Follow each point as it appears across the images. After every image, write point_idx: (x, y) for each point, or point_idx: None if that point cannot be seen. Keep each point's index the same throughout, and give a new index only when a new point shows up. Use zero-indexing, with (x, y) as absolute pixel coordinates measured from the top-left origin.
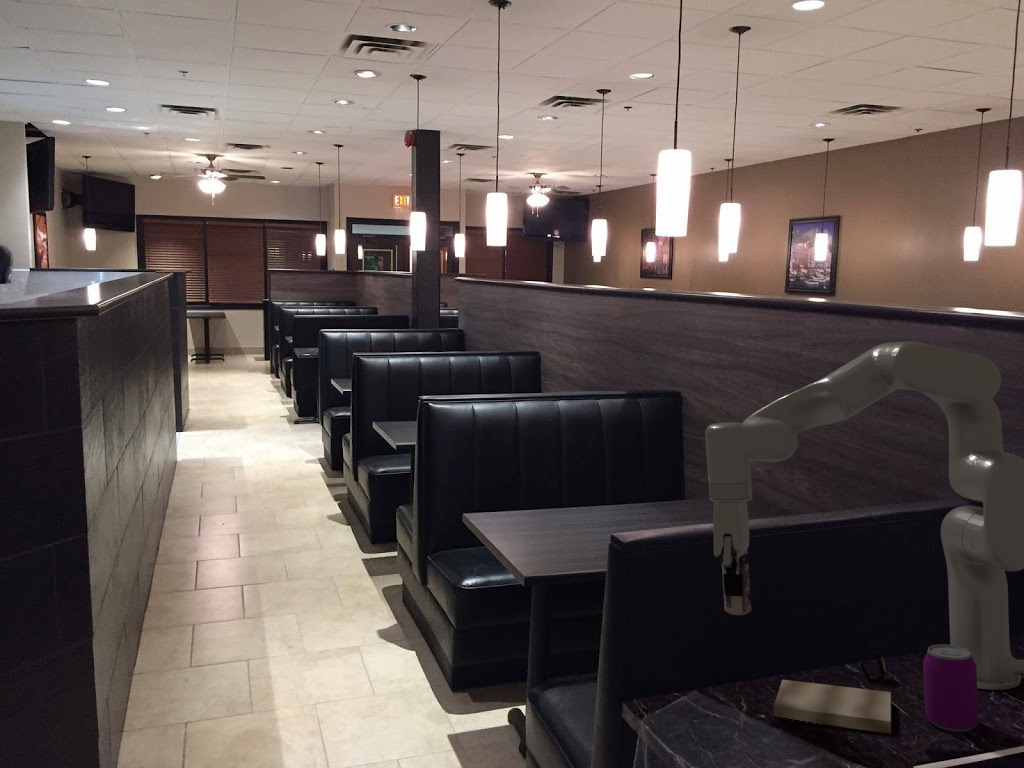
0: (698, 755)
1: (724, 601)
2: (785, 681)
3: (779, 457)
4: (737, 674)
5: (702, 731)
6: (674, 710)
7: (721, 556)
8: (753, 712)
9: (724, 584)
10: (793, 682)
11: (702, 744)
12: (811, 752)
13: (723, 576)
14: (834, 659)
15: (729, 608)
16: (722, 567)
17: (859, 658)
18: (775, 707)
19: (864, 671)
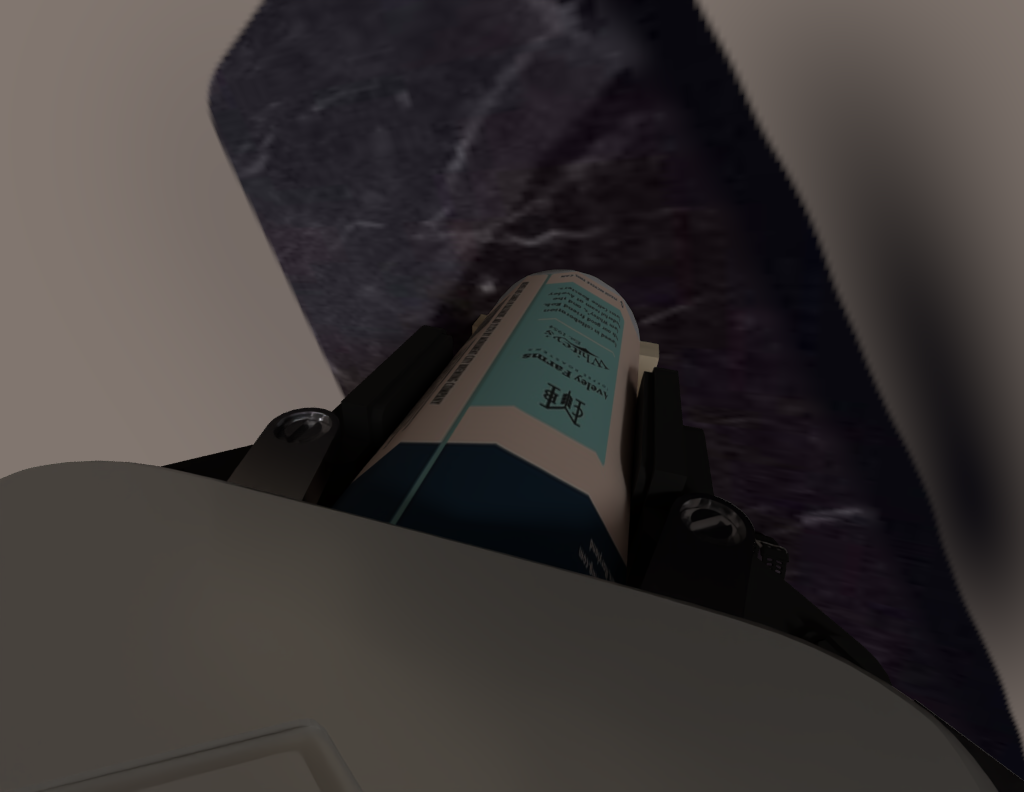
0: (235, 139)
1: (518, 292)
2: (644, 364)
3: None
4: (796, 207)
5: (349, 132)
6: (448, 5)
7: (396, 498)
8: (499, 265)
9: (394, 358)
10: (639, 383)
11: (286, 142)
12: (355, 372)
13: (360, 386)
14: (911, 493)
15: (494, 309)
16: (418, 419)
17: (763, 556)
18: (473, 328)
19: (761, 537)
